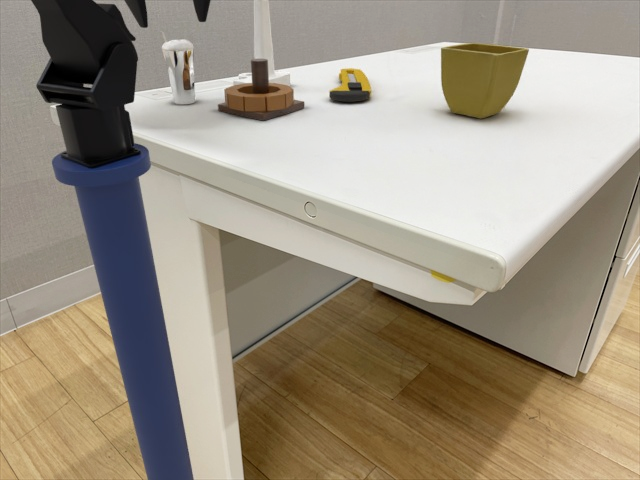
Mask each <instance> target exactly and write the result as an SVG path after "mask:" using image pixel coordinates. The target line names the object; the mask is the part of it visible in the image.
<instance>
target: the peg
mask: <svg viewBox="0 0 640 480" xmlns="http://www.w3.org/2000/svg"><path fill="white" fill-rule="evenodd" d="M250 73H252V89H253V94H268V93H269V75H268V60H267V59H254V58H252V59H250ZM303 109H305V101H304V100H299V99H294V104H292V105H291V106H289V107H287V108H285V109H279V110H273V111H265V112H252V111H240V110H235V109H230V108H228V107H227V105H226V103H225V101H224V102H220V103H218V104H217V110H218V112H221V113H227V114H231V115H235V116H240V117H243V118H248V119H254V120H257V121H263V122H264V121H268V120H270V119H274V118H278V117H280V116H284V115H287V114H290V113H293V112H296V111H299V110H303Z"/></svg>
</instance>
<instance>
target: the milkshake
mask: <svg viewBox="0 0 640 480" xmlns="http://www.w3.org/2000/svg"><path fill="white" fill-rule="evenodd" d="M160 33H161V36H162V38H163V41H164V43H162V46H161V51H162V55H163V60H164V64H165V67H166V70H167V76H168V80H169V83H170V84H169V86H170V90H171V95H172V100H173V103H174V104H175V105H178V106H179V105H181V106H182V105H192V104H194V103H196V90H195V89H196V88H195V87H196V86H195V54H194V52H195V51H194V49H195V48H194V47H195V46H194V44H193V43H192V42H191V41H190V40H188V39H185V38H181V39H171V40H169V41H168V39H167V37H166V34H165V32H164V31H160Z"/></svg>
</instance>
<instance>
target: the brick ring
mask: <svg viewBox="0 0 640 480" xmlns="http://www.w3.org/2000/svg"><path fill="white" fill-rule="evenodd" d="M294 97H295V96H294V88H292V87H291V85H290V86H288V85H283V84H277V83H269V93H268V94H253V89H252V83H247V84H239V85H233V84H232V85H230V86H228V87H226V88H224V102H225V103H226V105H227V107H228V108H230V109H235V110H240V111H252V112H265V111H273V110H279V109H285V108H287V107H289V106H291V105H292V104H294V100H295V99H294Z"/></svg>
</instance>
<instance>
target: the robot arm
mask: <svg viewBox="0 0 640 480" xmlns="http://www.w3.org/2000/svg"><path fill="white" fill-rule="evenodd" d="M30 1H31V3H32V5H33V6H34V8H35V9H36V11H37V13H38V15H39V21H40V30H41V32H40V33H41V39H42V43H43V46H44V47H45V49H46V52H48V55H49V57H50V58H49V60H48V61H47V64H46V66H45V68H44V69H43V71H42V73H41V74H40V77H39V79H38V81H37V83H36V86H35V87H36V89H37V91H38V92H39V95H41V97H42V99H43V101H44V102H45V103H47V104H56V105H55V109H56V113H57V114H56V115H57V118H58V122H59V126H60V130H61V134H62V139H63V141H64V146H65V149H66V150H67V152H64V151H62V152H63V153H62V152H60V153H61V154H60V153H59V154H60V155H61V158H63V159H66V160H68V161H71V162H74V163H76V164H79V165H81V166H84V167H87V168H90V169H93V168H97V167H100V166H104V165H107V164H110V163H114V162H117V161H120V160H123V159H127V158H130V157H133V156H136V155H140V154H141V151H140V149H137V148H133V147H132V146H134V144H135V138H134V132H133V127H132V122H131V116H130V111H128V110H126V105H129V104H131V103H134V102H135V95H136V94H135V93H136V84H137V70H138V61H139V56H138V52H137V49H136V46H135V44H134V43H133V42H135V41H136V40H137V38H136V36H134V34H132V33H131V31H130V30H129V28H128V27H127V24H126V22H125V19H124V17H123V14H122V12H121V10H120V9H119V7H117V5H116V4H115V3H97V2H96V1H94V0H30ZM123 1H124V3H125V4H126V6H127V8H128V9H129V11H130V12H131V14H132V16H133V18H134V19H135V21H136V22H137V24H138V26H139V27H140V28H143V29H147V28H148V27H149V21H148V19H149V18H148V9H147V3H146V0H123ZM211 1H212V0H192V3H193V8H194V11H195V15H196V17H197V21H198V22H199V23H206V22H207V18H208V14H209V9H210V5H211ZM85 85H88V86H85ZM89 86H91V87H89ZM66 150H65V151H66Z"/></svg>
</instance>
